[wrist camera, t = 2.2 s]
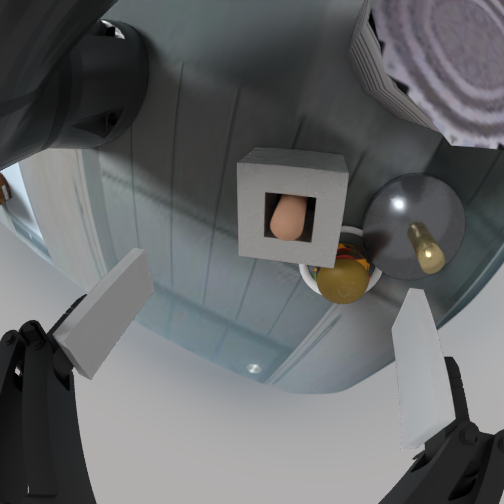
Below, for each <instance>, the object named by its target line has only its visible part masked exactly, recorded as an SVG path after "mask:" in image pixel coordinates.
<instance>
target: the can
mask: <svg viewBox="0 0 504 504" xmlns="http://www.w3.org/2000/svg"><path fill="white" fill-rule="evenodd" d="M348 57H349V59H350V61H351V63H352V65H353V68H354V70H355V72H356V74H357V77H358V79H359V82H360V84H361V86H362V89H363V91H364V92H365V93H366V94H368V95H369V96H370V97H372V98H373V99H374V100H376V101H377V102H378V103H380V104H381V105H382V106H383V107H385V108H386V109H387V110H388V111H390V112H391V113H392V114H393V115H394V116H396V117H398V118H401V119H404V120H407V121H410V122H413V123H416V124H418V125H421V126H424V127H427V128H429V129H432V130H435V131H437V132H440V133H442V134H443V135H444V137H445V138H446V139H447V141H448V142H449V143H450V144H451V145H452V146H468V147H480V148H490V149H499V150H504V0H365V1H364V3H363V5H362V7H361V10H360V12H359V14H358V16H357V19H356V21H355V25H354V29H353V34H352V38H351V42H350V46H349V50H348Z"/></svg>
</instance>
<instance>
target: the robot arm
mask: <svg viewBox="0 0 504 504" xmlns="http://www.w3.org/2000/svg"><path fill="white" fill-rule="evenodd" d="M117 1H118V0H0V171H1V170H3V169H5V168H7V167H9V166H11V165H13V164H15V163H17V162H19V161H21V160H23V159H25V158H27V157H29V156H31V155H34V154H35V153H38V152H40V151H42V150H45V149H48V148H68V149H89V148H93V147H97V146H99V145H102V144H105V143H107V142H110V141H112V140H114V139H115V138H117V137H118V136H120V135H121V134H122V133H123V132H124V131H125V130H126V129H127V128H128V127H129V126H130V124H131V123H132V121H133V120H134V118H135V117H136V115H137V113H138V111H139V109H140V107H141V105H142V102H143V99H144V96H145V92H146V88H147V82H148V58H147V53H146V49H145V46H144V43H143V41H142V39H141V38H140V36H139V35H138V33H137V32H136V31H135V30H134V29H133V28H132V27H130V26H129V25H127V24H125V23H122V22H119V21H113V20H106V19H100V18H101V17H102V16H103V15H104V14H105V13H106V12H107V11H108V10H109V9H110V8H111V7H112V6H113V5H114V4H115V3H116V2H117ZM154 291H155V290H154V286H153V282H152V278H151V274H150V270H149V266H148V262H147V258H146V253H145V250H142V249H136V248H133V249H132V250H131V251H130V252H129V253H128V254H127V255H126V256H125V257H124V258H123V259H122V260H121V261H120V262H119V263H118V264H117V265H116V266H115V267H114V268H113V269H112V270H111V271H110V272H109V273H108V274H107V275H106V276H105V277H104V278H103V279H102V280H101V281H100V282H99V283H98V284H97V285H96V286H95V287H94V288H93V289H92V291H91V292H90V293H89V294H88V295H87V294H85V295H83V296H82V297H81V298H79V299H77V300H76V301H75V302H74V303H73V304H72V305H71V308H69V309H68V310H67V311H66V313H65V314H63V315H62V317H61V318H60V319H59V320H58V321H57V323H55V325H54V326H53V327H52V328H51V329H50V330H49V332H48V333H47V334H46V333H45V331H44V330H43V328H42V327H41V325H40V323H39V322H38V321H36V320H30V321H28V322H26V323H25V324H23V325H22V326H21V328H20V329H19V332H17V331H16V330H10V331H8V332H6V333H5V334H4V335H3V337H2V339H1V341H0V504H96V501H95V497H94V494H93V491H92V487H91V484H90V480H89V476H88V472H87V468H86V463H85V458H84V454H83V449H82V444H81V438H80V431H79V425H78V418H77V410H76V400H75V388H74V375H73V372H72V371H71V370H72V369H73V367H75V368H76V370H77V371H78V373H79V374H81V375H82V376H84V377H86V378H88V379H90V380H91V379H92V378H93V376H94V374H95V373H96V372H97V370H98V369H99V367H100V366H101V364H102V363H103V361H104V360H105V359H106V357H107V356H108V354H109V353H110V351H111V350H112V348H113V347H114V346H115V344H116V342H117V341H118V340H119V339H120V337H121V336H122V334H123V333H124V331H125V330H126V329H127V327H128V326H129V325H130V323H131V322H132V320H133V319H134V318H135V316H136V315H137V314H138V312H139V311H140V310H141V308H142V307H143V306H144V304H145V303H146V302H147V300H148V299H149V298H150V296H151V295H152V294H153V292H154ZM391 330H392V337H393V344H394V351H395V359H396V368H397V377H398V389H399V403H400V425H401V449H413V448H418V447H420V446H421V445H422V444H424V443H425V450H423V451H422V452H420V453H419V454H417V455H416V456H415V457H414V458H413V460H415V459H416V458H417V460H416V461H415V462H414V463H413V465H412V466H411V467H410V469H409V470H408V471H407V472H406V473H405V475H404V476H403V477H402V478H401V480H400V481H399V482H398V483H397V484H396V485H395V486H394V487H393V489H392V490H391V491H390V492H389V493H388V494H387V495H386V496H385V497H384V498H383V499H382V500H381V501H380V502H379V503H378V504H499V502H500V499H501V496H502V493H503V490H504V429H503V430H501V431H499V432H498V433H496V434H495V435H492V434H487V433H483V432H480V431H479V429H478V427H477V426H476V425H475V423H473V422H470V419H469V414H468V408H467V403H466V398H465V393H464V388H463V383H462V380H461V375H460V371H459V367H458V365H457V363H456V362H455V360H454V359H453V357H444V356H443V352H442V348H441V345H440V341H439V337H438V333H437V330H436V327H435V323H434V320H433V317H432V314H431V311H430V308H429V305H428V302H427V299H426V296H425V293H424V290H422V289H413V288H409V291H408V293H407V295H406V298H405V300H404V302H403V305H402V307H401V309H400V311H399V314H398V316H397V318H396V320H395V322H394V324H393V326H392V329H391ZM16 367H17V368H18V369H19V370H20V374H19V376H18V375H17V374H16V373H15V369H16ZM28 486H29V493H28Z"/></svg>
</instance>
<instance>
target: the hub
mask: <svg viewBox="0 0 504 504" xmlns="http://www.w3.org/2000/svg"><path fill="white" fill-rule="evenodd" d="M362 230H363V233H362V235H363V242H364V246H365V250H366V252H367V255H368V257H369V258H370V260H371V262H372V263H373V264H374V265H375V266H376V267H377V268H378V269H379V270H380V271H382V272H383V273H385V274H386V275H389V276H391V277H394V278H397V279H403V280H414V279H420V278H424V277H427V276H429V275H432V274H434V273H436V272H438V271H439V270H440V269H442V268H443V267H444V266H445V265H447V264H448V263H449V262H450V260H451V259H452V258H453V257H454V255H455V254H456V253H457V251H458V249H459V247H460V245H461V243H462V240H463V237H464V232H465V213H464V208H463V206H462V203H461V201H460V199H459V197H458V196H457V194H456V193H455V192H454V191H453V190H452V189H451V188H450V187H449V186H448V185H447V184H446V183H445V182H443V181H442V180H440V179H439V178H437V177H435V176H432V175H429V174H423V173H412V174H406V175H402V176H399V177H397V178H395V179H393V180H391V181H389V182H388V183H386V184H385V185H384V186H383V187H381V188H380V189H379V190H378V191H377V192H376V194H375V195H374V196H373V198H372V199H371V201H370V202H369V204H368V206H367V209H366V211H365V214H364V218H363V224H362Z"/></svg>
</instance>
